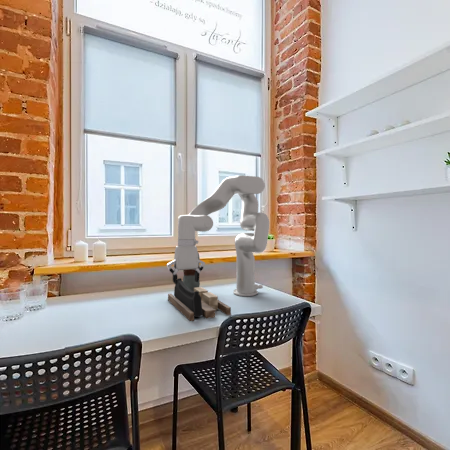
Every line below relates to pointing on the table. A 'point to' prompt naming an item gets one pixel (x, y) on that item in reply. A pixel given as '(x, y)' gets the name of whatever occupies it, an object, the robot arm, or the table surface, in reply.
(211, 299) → the offcut
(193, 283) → the bottle
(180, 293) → the magazine
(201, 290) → the offcut
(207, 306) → the rack
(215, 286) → the table surface
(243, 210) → the robot arm
